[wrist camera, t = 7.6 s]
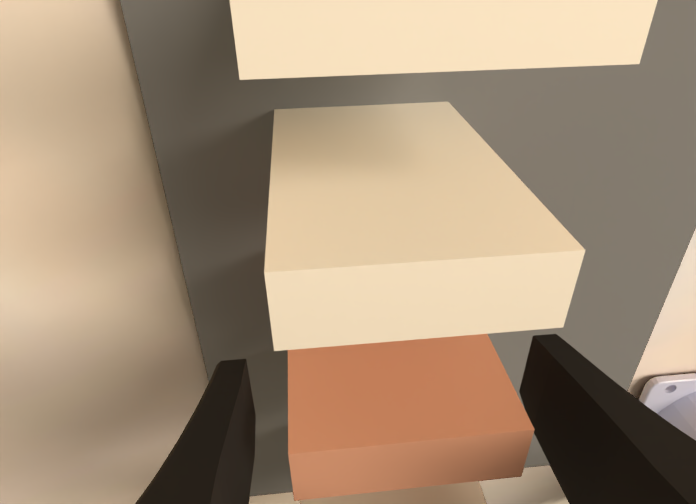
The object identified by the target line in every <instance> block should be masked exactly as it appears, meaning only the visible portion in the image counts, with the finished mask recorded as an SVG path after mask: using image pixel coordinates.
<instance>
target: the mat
mask: <svg viewBox="0 0 696 504" xmlns="http://www.w3.org/2000/svg"><path fill="white" fill-rule="evenodd" d="M120 3H121V7H122V11H123V15H124V20H125V24H126V28H127V33H128V37H129V41H130V45H131V50H132V54H133V58H134V63H135V67H136V71H137V75H138V80H139V84H140V88H141V93H142V97H143V101H144V105H145V110H146V114H147V118H148V123H149V127H150V131H151V135H152V140H153V144H154V148H155V153H156V157H157V161H158V165H159V170H160V174H161V178H162V183H163V187H164V191H165V195H166V200H167V204H168V208H169V213H170V217H171V221H172V225H173V230H174V234H175V238H176V243H177V247H178V251H179V255H180V260H181V264H182V268H183V273H184V277H185V281H186V285H187V290H188V294H189V298H190V303H191V307H192V311H193V315H194V320H195V324H196V328H197V333H198V337H199V341H200V345H201V350H202V354H203V358H204V362H205V367H206V371H207V375H208V380H209V381H210V379H211V377H212V375H213V373H214V370H215V368H216V365H217V364H218V363H219V362H220V361H224V360H236V359H246V361H247V367H248V373H249V378H250V384H251V390H252V396H253V402H254V408H255V414H256V425H255V458H254V466H253V473H252V481H251V489H250V496H257V495H267V494H277V493H286V492H293V487H292V479H291V472H290V464H289V457H288V350H282V351H274V347H273V339H272V331H271V323H270V315H269V307H268V299H267V291H266V284H265V276H264V266H265V250H266V234H267V218H268V203H269V187H270V171H271V155H272V139H273V123H274V109H293V108H315V107H338V106H360V105H383V104H405V103H428V102H449V103H450V104H451V105H452V106H453V107H454V108H455V109H456V110H457V112H458V113H459V114H460V115H461V116H462V117H463V118H464V119H465V120H466V121H467V122H468V123H469V125H470V126H471V127H472V128H473V129H474V130H475V131H476V132H477V133H478V134H479V135H480V136H481V138H482V139H483V140H484V141H485V142H486V143H487V144H488V145H489V146H490V147H491V148H492V149H493V151H494V152H495V153H496V154H497V155H498V156H499V157H500V158H501V159H502V160H503V161H504V162H505V163H506V165H507V166H508V167H509V168H510V169H511V170H512V171H513V172H514V173H515V174H516V175H517V176H518V178H519V179H520V180H521V181H522V182H523V183H524V184H525V185H526V186H527V187H528V188H529V189H530V191H531V192H532V193H533V194H534V195H535V196H536V197H537V198H538V199H539V200H540V201H541V202H542V204H543V205H544V206H545V207H546V208H547V209H548V210H549V211H550V212H551V213H552V214H553V215H554V217H555V218H556V219H557V220H558V221H559V222H560V223H561V224H562V225H563V226H564V227H565V228H566V230H567V231H568V232H569V233H570V234H571V235H572V236H573V237H574V238H575V239H576V240H577V241H578V243H579V244H580V245H581V246H582V247H583V248H584V249H585V254H584V257H583V261H582V264H581V268H580V271H579V275H578V278H577V281H576V285H575V288H574V292H573V295H572V299H571V302H570V306H569V309H568V313H567V316H566V320H565V323H564V326H563V328H550V329H538V330H526V331H514V332H502V333H490V334H488V336H489V338H490V340H491V342H492V344H493V346H494V348H495V350H496V352H497V354H498V356H499V358H500V360H501V362H502V364H503V366H504V368H505V371H506V373H507V375H508V377H509V379H510V381H511V383H512V385H513V387H514V389H515V391H516V393H517V395H518V397H519V399H520V401H521V403H522V405H523V402H522V399H521V396H520V393H519V390H520V386H521V382H522V378H523V374H524V370H525V366H526V361H527V357H528V353H529V349H530V345H531V341H532V337H533V336H535V335H547V334H557V335H558V336H560V337H561V338H562V339H563V340H565V341H566V342H567V343H568V344H570V345H571V346H572V347H573V348H574V349H576V350H577V351H578V352H579V353H580V354H582V355H583V356H584V357H585V358H586V359H588V360H589V361H590V362H591V363H593V364H594V365H595V366H596V367H597V368H599V369H600V370H601V371H602V372H604V373H605V374H606V375H607V376H608V377H610V378H611V379H612V380H613V381H615V382H616V383H617V384H618V385H620V386H621V387H622V388H624V389H625V390H626V391H628V388H629V386H630V384H631V381H632V379H633V376H634V374H635V372H636V369H637V367H638V364H639V362H640V360H641V357H642V355H643V353H644V350H645V348H646V345H647V343H648V341H649V338H650V336H651V333H652V331H653V329H654V326H655V324H656V321H657V319H658V317H659V314H660V312H661V309H662V307H663V305H664V302H665V300H666V298H667V295H668V293H669V290H670V288H671V286H672V283H673V281H674V278H675V276H676V274H677V271H678V269H679V266H680V264H681V262H682V259H683V257H684V254H685V252H686V250H687V247H688V245H689V243H690V240H691V238H692V235H693V233H694V231H695V228H696V0H658V1H657V5H656V8H655V11H654V15H653V18H652V22H651V25H650V29H649V32H648V36H647V39H646V43H645V46H644V50H643V53H642V56H641V60H640V63H639V64H629V65H603V66H578V67H553V68H527V69H502V70H477V71H452V72H426V73H401V74H376V75H351V76H325V77H300V78H275V79H249V80H240V79H239V71H238V63H237V55H236V47H235V39H234V32H233V24H232V16H231V8H230V0H120ZM523 407H524V405H523ZM524 409H525V408H524ZM545 465H550V464H549V462H548V460H547V458H546V456H545V454H544V452H543V450H542V448H541V446H540V444H539V442H538V440H537V438H536V436H535V434H534V433H533V437H532V440H531V444H530V447H529V451H528V454H527V458H526V461H525V465H524V468H526V467H536V466H545Z"/></svg>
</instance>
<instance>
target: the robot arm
mask: <svg viewBox="0 0 696 504" xmlns="http://www.w3.org/2000/svg"><path fill="white" fill-rule="evenodd" d="M519 393H520V396H521V399H522V402H523V405H524V408H525V411H526V413H527V415H528V417H529V419H530V421H531V423H532V425H533V427H534V429H535V430H534V434H535V436H536V438H537V440H538V442H539V444H540V446H541V448H542V450H543V452H544V454H545V456H546V458H547V460H548V462H549V464H550V466H551V468H552V470H553V472H554V474H555V476H556V478H557V480H558V482H559V484H560V486H561V488H562V490H563V492H564V494H565V496H566V498H567V500H568V502H569V504H696V373H690V374H680V375H669V376H658V377H654V378H652V379H650V380H649V381H647V383H646V384H645V386H644V389H643V391H642V393H641V395H640V398H639V400H638V399H636V398H635V397H634V396H633V395H631V394H630V393H629V392H627V391H626V390H625V389H624V388H622V387H621V386H620V385H618V384H617V383H616V382H615V381H613V380H612V379H611V378H610V377H608V376H607V375H606V374H605V373H604V372H602V371H601V370H600V369H599V368H597V367H596V366H595V365H594V364H593V363H591V362H590V361H589V360H588V359H586V358H585V357H584V356H583V355H582V354H580V353H579V352H578V351H577V350H576V349H574V348H573V347H572V346H571V345H570V344H568V343H567V342H566V341H565V340H563V339H562V338H561V337H560V336H558V335H557V334H547V335H535V336H533V337H532V341H531V345H530V349H529V353H528V357H527V361H526V366H525V370H524V374H523V378H522V382H521V386H520V390H519ZM255 425H256V414H255V408H254V402H253V396H252V390H251V384H250V378H249V373H248V367H247V361H246V359H236V360H224V361H220V362H219V363H218V364H217V365H216V368H215V370H214V373H213V375H212V377H211V379H210V381H209V384H208V386H207V388H206V390H205V392H204V394H203V396H202V398H201V400H200V402H199V404H198V406H197V408H196V409H195V411H194V413H193V415H192V417H191V418H190V420H189V422H188V424H187V426H186V427H185V429H184V431H183V433H182V434H181V436H180V438H179V439H178V441H177V443H176V444H175V446H174V447H173V449H172V451H171V452H170V454H169V455H168V457H167V459H166V460H165V462H164V463H163V465H162V466H161V468H160V470H159V471H158V473H157V474H156V476H155V477H154V478H153V480H152V481H151V483H150V484H149V486H148V487H147V489H146V490H145V491H144V493H143V494H142V495H141V497H140V498H139V500H138V501H137V502H136V504H249V497H250V489H251V481H252V473H253V466H254V458H255Z"/></svg>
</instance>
